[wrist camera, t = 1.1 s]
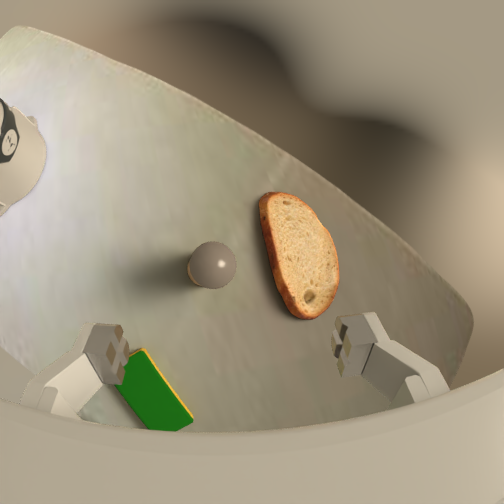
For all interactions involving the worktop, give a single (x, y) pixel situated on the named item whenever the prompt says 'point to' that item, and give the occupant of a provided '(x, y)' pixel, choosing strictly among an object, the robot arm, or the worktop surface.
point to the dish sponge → (152, 395)
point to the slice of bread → (299, 254)
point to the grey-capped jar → (212, 265)
